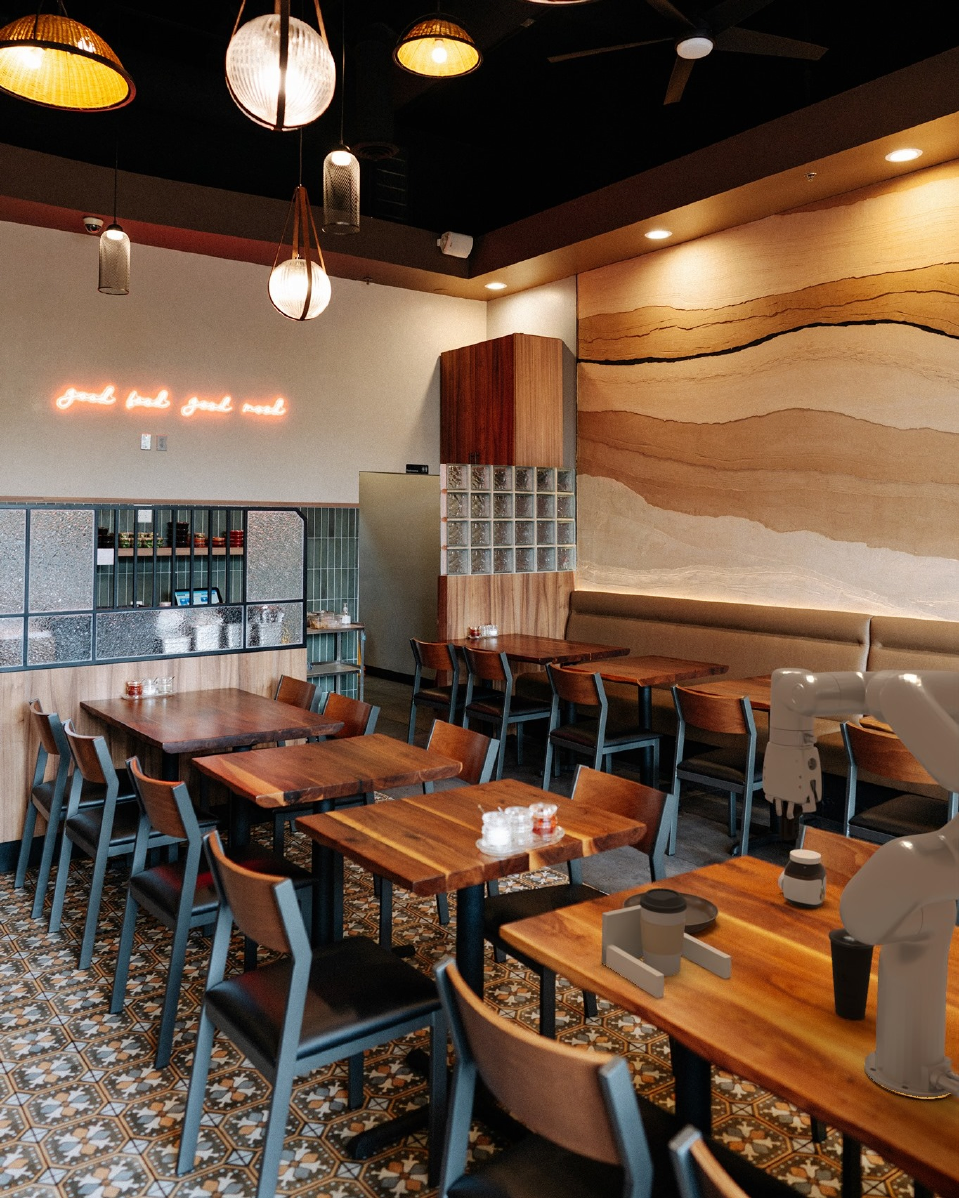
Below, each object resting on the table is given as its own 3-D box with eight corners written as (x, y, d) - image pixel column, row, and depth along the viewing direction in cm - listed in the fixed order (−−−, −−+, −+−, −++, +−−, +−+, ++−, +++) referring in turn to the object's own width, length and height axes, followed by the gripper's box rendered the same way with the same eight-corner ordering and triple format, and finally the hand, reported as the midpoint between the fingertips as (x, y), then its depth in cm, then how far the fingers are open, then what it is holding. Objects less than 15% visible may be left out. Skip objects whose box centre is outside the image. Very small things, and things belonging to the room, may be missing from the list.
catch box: (730, 977, 176) (731, 925, 176) (657, 998, 167) (658, 943, 167) (672, 945, 191) (673, 897, 190) (601, 963, 182) (602, 912, 181)
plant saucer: (603, 920, 204) (603, 905, 204) (656, 897, 219) (657, 883, 219) (685, 948, 190) (685, 932, 190) (736, 921, 205) (736, 906, 205)
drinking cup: (834, 999, 168) (838, 890, 167) (879, 1012, 163) (882, 900, 162) (820, 1015, 162) (823, 901, 161) (865, 1029, 157) (868, 912, 156)
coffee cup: (628, 963, 182) (630, 887, 181) (666, 955, 186) (667, 881, 185) (657, 982, 174) (658, 903, 173) (695, 973, 178) (697, 896, 177)
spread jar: (809, 913, 209) (810, 862, 209) (763, 899, 218) (764, 850, 217) (834, 900, 217) (835, 851, 217) (790, 888, 226) (791, 840, 225)
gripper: (840, 742, 162) (837, 846, 163) (774, 728, 175) (772, 825, 176) (810, 746, 158) (807, 852, 159) (745, 732, 171) (743, 830, 172)
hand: (788, 838), depth 167 cm, fingers closed
